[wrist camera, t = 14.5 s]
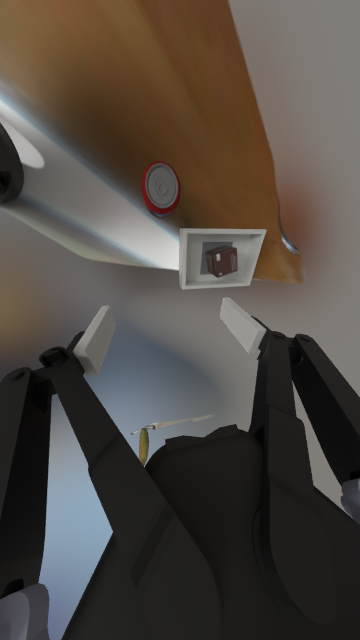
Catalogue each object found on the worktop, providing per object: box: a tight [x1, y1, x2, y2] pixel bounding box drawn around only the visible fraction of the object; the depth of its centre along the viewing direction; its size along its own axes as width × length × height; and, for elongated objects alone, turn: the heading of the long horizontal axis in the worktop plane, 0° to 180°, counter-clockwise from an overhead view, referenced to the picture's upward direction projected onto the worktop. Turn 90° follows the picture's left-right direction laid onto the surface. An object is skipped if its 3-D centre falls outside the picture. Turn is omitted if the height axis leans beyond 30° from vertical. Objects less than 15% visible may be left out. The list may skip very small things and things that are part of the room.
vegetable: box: [139, 428, 149, 466], centre depth 91 cm, size 6×6×20 cm
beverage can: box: [142, 161, 180, 218], centre depth 27 cm, size 7×7×12 cm
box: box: [205, 245, 238, 278], centre depth 38 cm, size 6×6×7 cm
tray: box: [179, 228, 267, 289], centre depth 40 cm, size 22×15×5 cm
